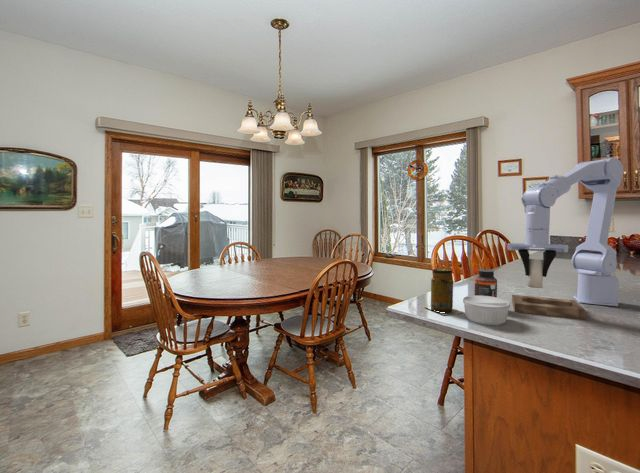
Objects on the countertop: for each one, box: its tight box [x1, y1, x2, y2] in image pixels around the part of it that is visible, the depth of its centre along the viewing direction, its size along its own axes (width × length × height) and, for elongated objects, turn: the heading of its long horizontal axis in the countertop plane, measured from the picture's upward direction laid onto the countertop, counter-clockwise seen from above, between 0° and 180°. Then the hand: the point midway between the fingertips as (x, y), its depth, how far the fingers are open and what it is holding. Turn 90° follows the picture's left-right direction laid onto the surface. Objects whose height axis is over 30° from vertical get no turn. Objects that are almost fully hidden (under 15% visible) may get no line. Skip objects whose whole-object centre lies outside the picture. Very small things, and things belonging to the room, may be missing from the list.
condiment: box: [430, 267, 465, 316], centre depth 95 cm, size 7×8×12 cm
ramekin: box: [462, 295, 511, 326], centre depth 87 cm, size 11×11×5 cm
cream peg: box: [527, 258, 544, 289], centre depth 95 cm, size 4×4×8 cm
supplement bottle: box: [474, 268, 498, 298], centre depth 97 cm, size 6×6×11 cm
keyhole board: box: [511, 294, 586, 320], centre depth 94 cm, size 16×11×2 cm
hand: (535, 275), depth 95 cm, fingers closed on cream peg, 4 cm apart
